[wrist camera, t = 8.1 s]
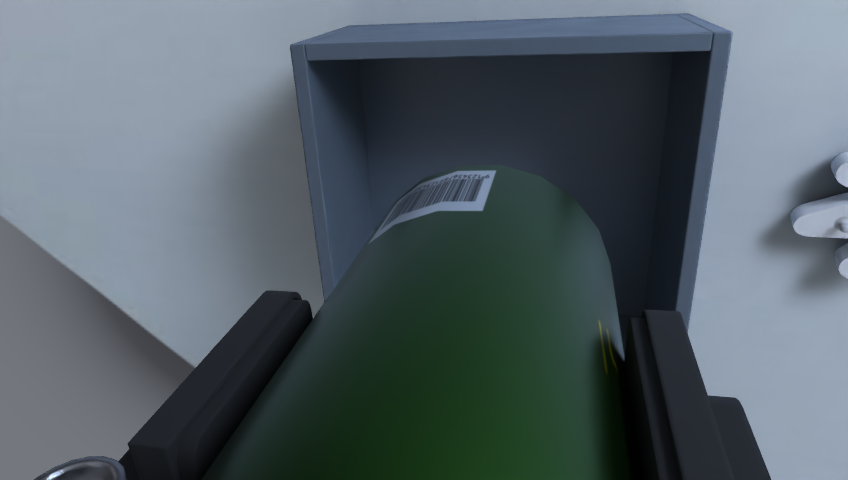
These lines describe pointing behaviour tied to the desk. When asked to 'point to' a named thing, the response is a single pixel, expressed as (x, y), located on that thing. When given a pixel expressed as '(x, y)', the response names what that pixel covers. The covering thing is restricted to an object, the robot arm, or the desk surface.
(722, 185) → the desk surface
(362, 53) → the open hinged box
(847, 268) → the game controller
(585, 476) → the beer can
